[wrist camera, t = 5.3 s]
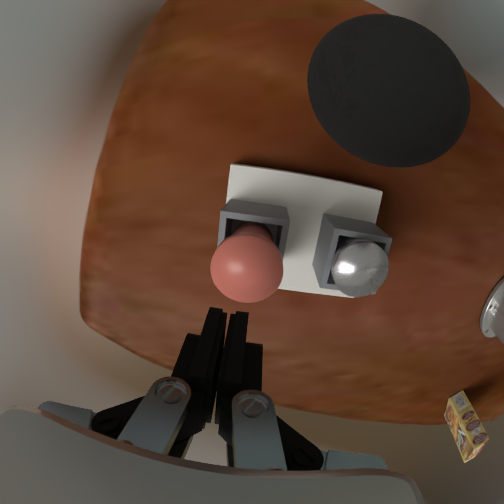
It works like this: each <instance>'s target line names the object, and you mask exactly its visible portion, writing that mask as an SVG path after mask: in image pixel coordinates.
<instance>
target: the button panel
mask: <svg viewBox="0 0 504 504" xmlns="http://www.w3.org/2000/svg"><path fill="white" fill-rule="evenodd" d="M382 193H383V192H382V191H380V190H378V189H375V188H371V187H367V186H363V185H358V184H354V183H349V182H344V181H340V180H335V179H330V178H325V177H320V176H314V175H309V174H303V173H297V172H291V171H285V170H279V169H272V168H265V167H258V166H251V165H243V164H234V163H233V164H231V166H230V174H229V183H228V192H227V201H226V205H225V206H224V207H223V209H222V210H221V214H220V224H219V234H218V245H217V248H218V246H219V245H220V243H221V242H222V241H223V240H225V239H226V238H227V237H229V236H231V235H232V234H233V232H234V230H235V229H236V227H237V226H239V225H240V224H241V223H244V222H247V221H252V222H259V223H262V224H264V225H265V226H267V227H268V228H269V230H270V231H271V233H272V236H273V243H274V244H275V245H276V246H277V248H278V249H279V251H280V253H281V256H282V261H283V278H282V281H281V284H280V286H279V287H278V289H285V290H293V291H300V292H308V293H316V294H325V295H333V296H342V297H351V296H348V295H345V294H344V293H342V292H341V291H340V290H339V289H338V288H337V286H336V284H335V282H334V280H333V277H332V274H331V264H332V260H333V257H334V254H335V250H336V246H337V242H338V238H339V235H342V236H348V237H354V238H359V239H360V238H363V239H369V240H371V241H373V242H375V243H376V244H377V245H379V246H380V247H381V248H382V250H383V251H384V252H385V254H386V255H387V257H388V253H389V250H390V247H391V243H392V240H393V239H392V238H391V237H390V236H389V235H388V234H386V233H385V232H384V231H383V230H382V229H380V228H379V227H378V226H377V225H375V224H376V220H377V215H378V211H379V207H380V202H381V198H382ZM375 293H376V291H374V292H373V293H371V294H375ZM351 298H354V297H351Z"/></svg>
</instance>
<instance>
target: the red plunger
mask: <svg viewBox="0 0 504 504" xmlns="http://www.w3.org/2000/svg"><path fill="white" fill-rule="evenodd" d="M211 276H212V279H213V281H214V283H215V285H216V287H217V288H218V289H219V290H220V291H221V292H222V293H223V294H224V295H225V296H227V297H229V298H231V299H233V300H235V301H239V302H245V303H252V302H258V301H261V300H264V299H266V298H268V297H269V296H271V295H272V294H273V293H274V292H275V291H276V290H277V289H278V287H279V286H280V284H281V281H282V278H283V261H282V256H281V253H280V251H279V249H278V248H277V246H276V245H275V244H274V243H273V236H272V233H271V231H270V230H269V228H268V227H267V226H265V225H264V224H262V223H259V222H252V221H247V222H244V223H241V224H240V225H239V226H237V227H236V229H235V230H234V232H233V234H232V235H231V236H229V237H227V238H226V239H225V240H223V241H222V242H221V243H220V245H219V246H218V248H217V249H216V251H215V253H214V255H213V257H212V261H211Z"/></svg>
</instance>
